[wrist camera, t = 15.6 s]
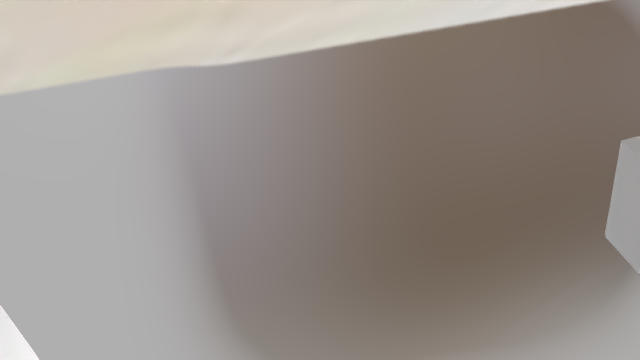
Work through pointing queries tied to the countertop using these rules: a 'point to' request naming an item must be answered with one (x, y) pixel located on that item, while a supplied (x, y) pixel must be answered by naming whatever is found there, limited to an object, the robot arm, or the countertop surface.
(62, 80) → the countertop surface
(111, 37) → the countertop surface
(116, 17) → the countertop surface
